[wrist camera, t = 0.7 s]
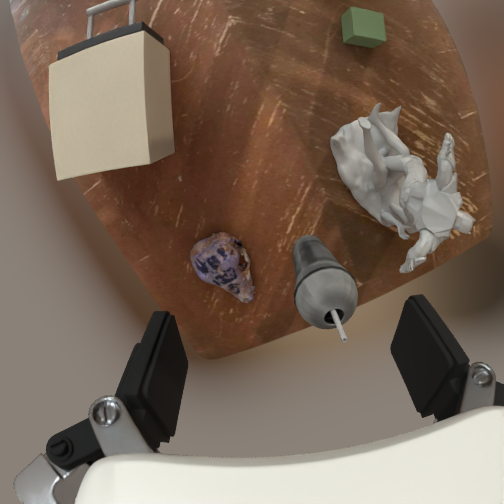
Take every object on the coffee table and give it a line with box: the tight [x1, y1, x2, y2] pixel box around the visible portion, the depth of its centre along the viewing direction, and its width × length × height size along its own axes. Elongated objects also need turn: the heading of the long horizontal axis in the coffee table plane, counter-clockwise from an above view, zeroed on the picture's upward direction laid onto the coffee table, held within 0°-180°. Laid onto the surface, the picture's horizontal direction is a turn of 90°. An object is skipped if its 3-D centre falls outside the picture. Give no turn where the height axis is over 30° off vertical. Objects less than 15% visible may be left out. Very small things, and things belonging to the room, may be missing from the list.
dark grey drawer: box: [58, 0, 163, 60], centre depth 24 cm, size 20×11×8 cm, turn 2°
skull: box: [190, 232, 255, 303], centre depth 39 cm, size 12×8×6 cm, turn 23°
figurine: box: [330, 103, 476, 273], centre depth 27 cm, size 18×13×18 cm
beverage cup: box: [293, 235, 358, 342], centre depth 31 cm, size 7×7×20 cm
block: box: [341, 7, 386, 48], centre depth 24 cm, size 4×4×4 cm
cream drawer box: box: [49, 31, 175, 180], centre depth 26 cm, size 15×13×10 cm
